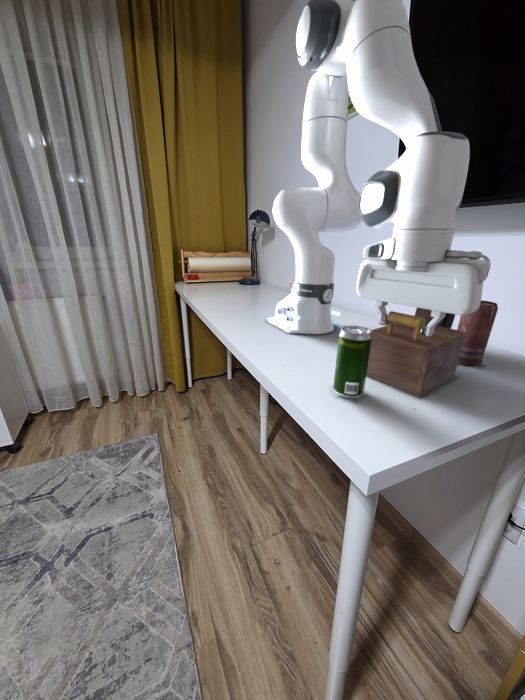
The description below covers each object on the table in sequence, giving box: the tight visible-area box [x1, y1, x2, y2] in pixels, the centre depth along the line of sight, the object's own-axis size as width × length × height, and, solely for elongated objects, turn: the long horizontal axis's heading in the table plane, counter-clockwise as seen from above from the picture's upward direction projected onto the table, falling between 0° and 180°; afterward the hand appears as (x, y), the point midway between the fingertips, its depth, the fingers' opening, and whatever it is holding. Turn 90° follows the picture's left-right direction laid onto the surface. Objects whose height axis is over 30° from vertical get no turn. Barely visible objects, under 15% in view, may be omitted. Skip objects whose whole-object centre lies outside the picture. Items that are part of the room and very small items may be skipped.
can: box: [456, 299, 499, 367], centre depth 65 cm, size 6×6×14 cm
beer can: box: [333, 325, 372, 400], centre depth 51 cm, size 5×5×12 cm
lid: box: [370, 310, 466, 352], centre depth 56 cm, size 15×12×5 cm
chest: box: [366, 336, 465, 398], centre depth 58 cm, size 15×12×9 cm
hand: (403, 329), depth 53 cm, fingers open, 7 cm apart
